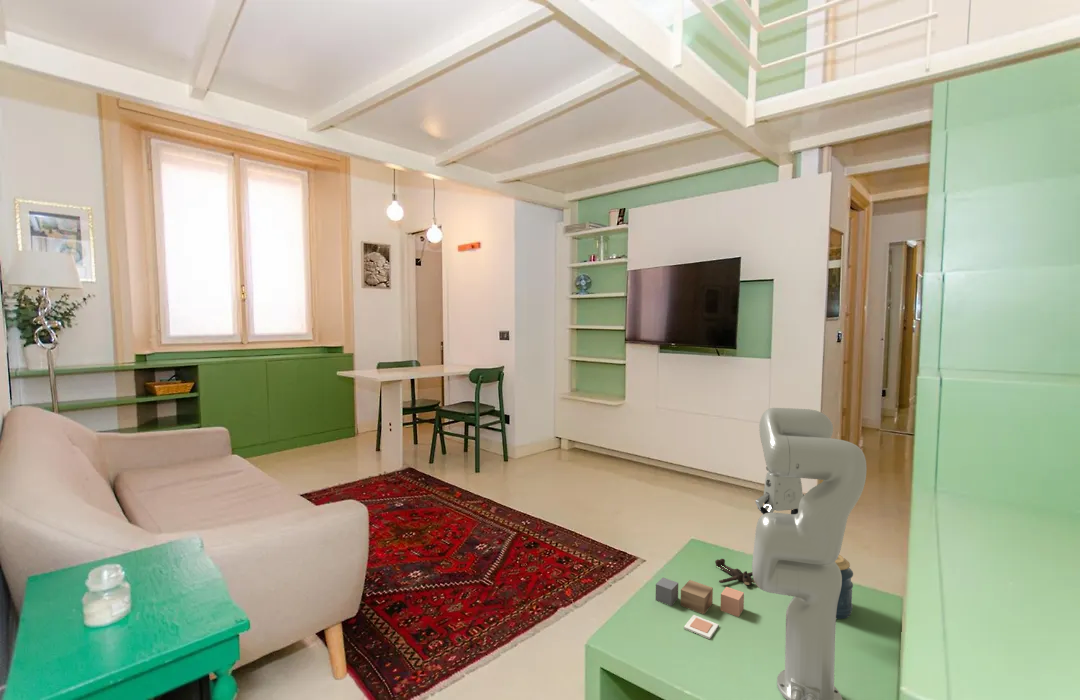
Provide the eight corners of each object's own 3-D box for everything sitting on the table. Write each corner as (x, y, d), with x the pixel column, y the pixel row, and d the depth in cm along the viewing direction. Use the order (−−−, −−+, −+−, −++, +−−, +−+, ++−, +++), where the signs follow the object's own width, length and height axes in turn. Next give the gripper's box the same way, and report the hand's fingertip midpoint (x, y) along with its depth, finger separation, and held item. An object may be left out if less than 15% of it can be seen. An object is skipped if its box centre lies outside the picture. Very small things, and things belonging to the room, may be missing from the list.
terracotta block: (738, 617, 131) (738, 600, 131) (720, 610, 135) (720, 593, 134) (743, 609, 135) (743, 592, 135) (726, 602, 138) (726, 586, 138)
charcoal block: (671, 606, 137) (671, 589, 137) (655, 600, 140) (655, 584, 140) (678, 598, 141) (678, 582, 140) (662, 593, 144) (662, 577, 144)
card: (709, 639, 122) (709, 636, 122) (683, 628, 126) (683, 626, 126) (718, 626, 127) (718, 623, 127) (693, 616, 132) (693, 614, 131)
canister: (863, 617, 131) (865, 556, 130) (822, 622, 129) (824, 560, 128) (828, 592, 144) (829, 536, 143) (790, 596, 142) (791, 539, 141)
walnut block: (704, 615, 133) (704, 598, 132) (680, 606, 137) (680, 589, 137) (712, 604, 138) (712, 587, 138) (689, 595, 142) (689, 579, 142)
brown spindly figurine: (738, 553, 164) (773, 568, 150) (739, 566, 163) (773, 582, 150) (698, 562, 157) (729, 579, 144) (698, 575, 157) (730, 593, 143)
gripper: (766, 474, 130) (765, 535, 130) (817, 470, 134) (816, 529, 134) (748, 467, 137) (747, 524, 137) (797, 463, 141) (796, 519, 141)
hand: (781, 526), depth 136 cm, fingers open, 9 cm apart
